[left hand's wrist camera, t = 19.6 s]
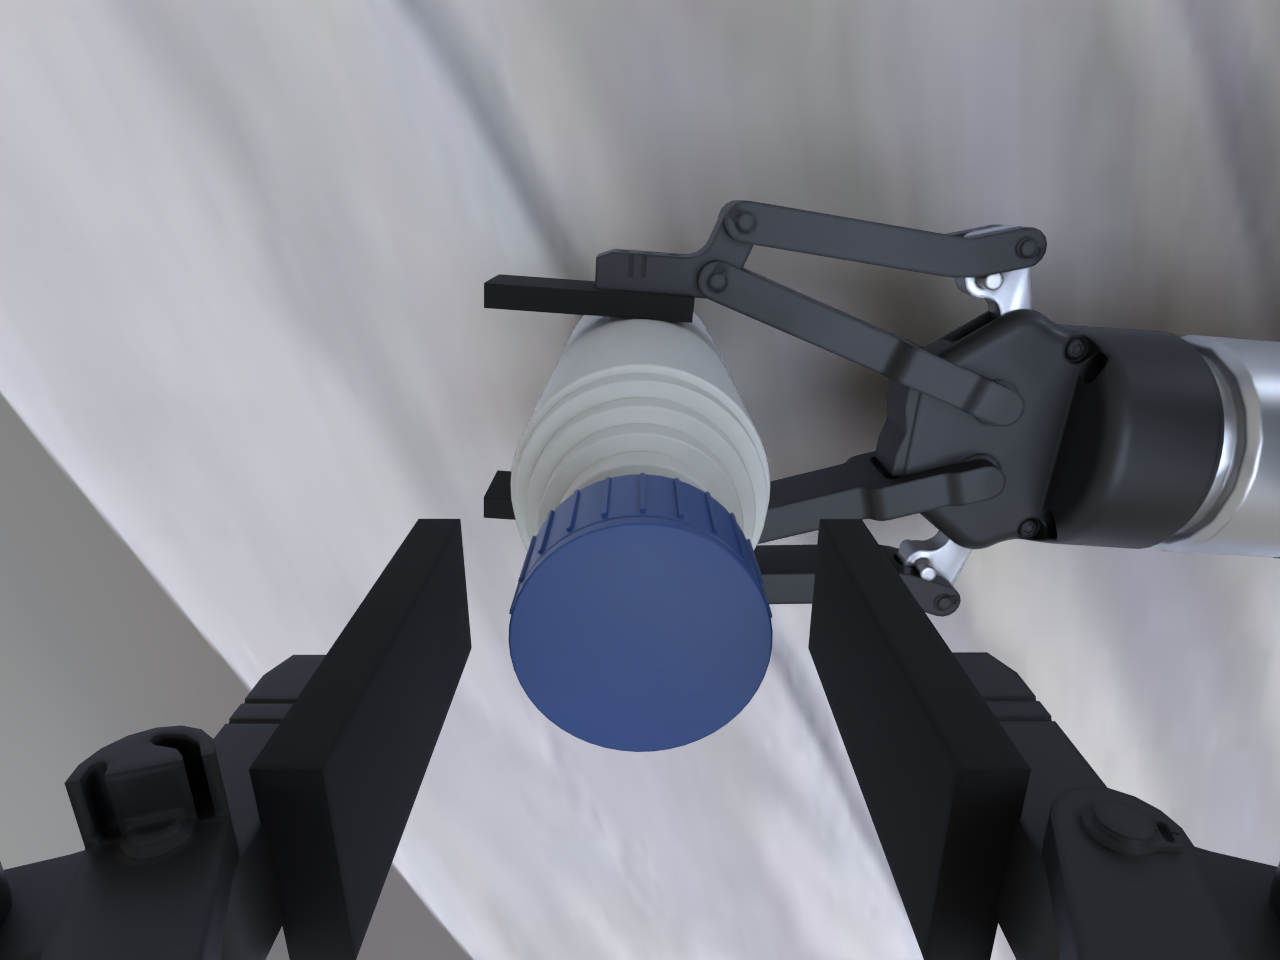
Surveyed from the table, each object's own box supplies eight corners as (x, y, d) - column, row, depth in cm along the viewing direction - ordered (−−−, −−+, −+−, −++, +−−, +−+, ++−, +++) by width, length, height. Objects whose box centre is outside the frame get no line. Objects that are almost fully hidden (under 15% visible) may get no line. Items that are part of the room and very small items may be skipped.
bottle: (633, 467, 34) (624, 833, 15) (533, 359, 33) (373, 610, 13) (746, 374, 33) (903, 641, 13) (647, 256, 31) (660, 363, 12)
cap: (538, 453, 14) (519, 501, 12) (779, 490, 14) (804, 542, 12) (513, 660, 15) (492, 736, 13) (731, 690, 16) (746, 769, 13)
